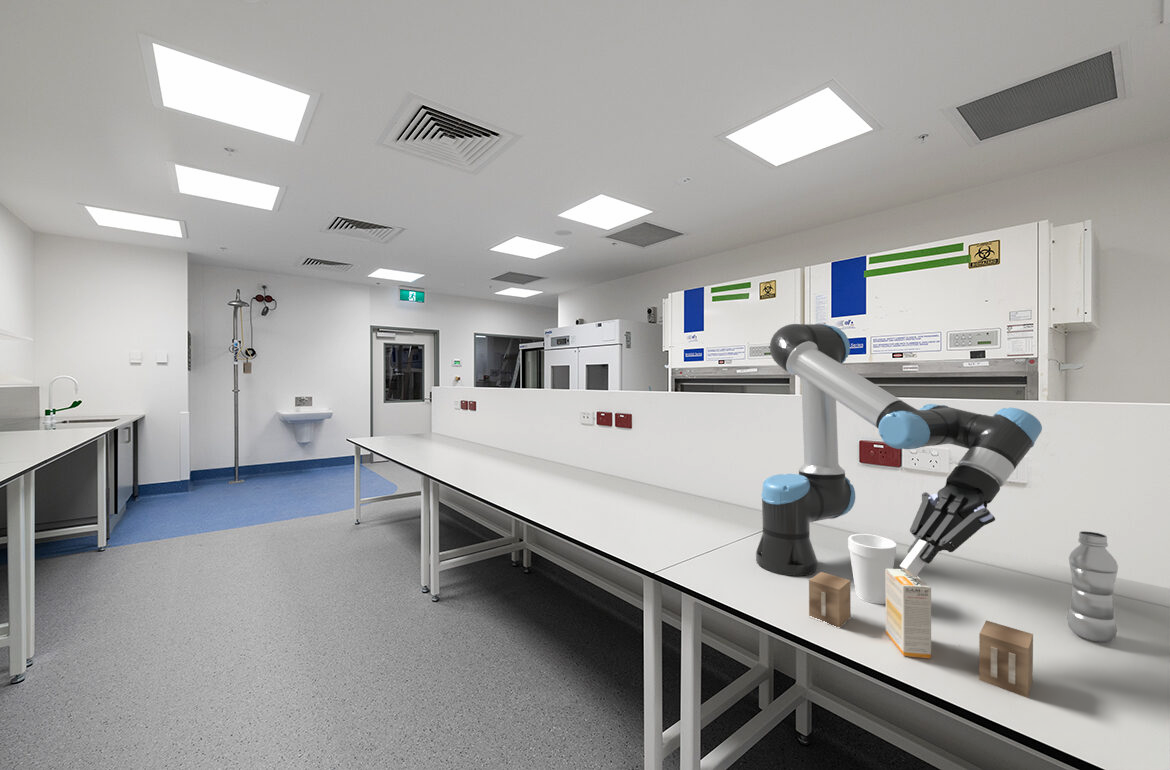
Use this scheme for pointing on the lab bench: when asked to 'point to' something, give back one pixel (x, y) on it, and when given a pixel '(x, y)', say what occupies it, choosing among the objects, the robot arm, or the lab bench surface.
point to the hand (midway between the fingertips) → (907, 571)
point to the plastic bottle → (1092, 588)
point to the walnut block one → (829, 599)
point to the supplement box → (908, 613)
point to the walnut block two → (1006, 658)
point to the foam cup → (871, 565)
